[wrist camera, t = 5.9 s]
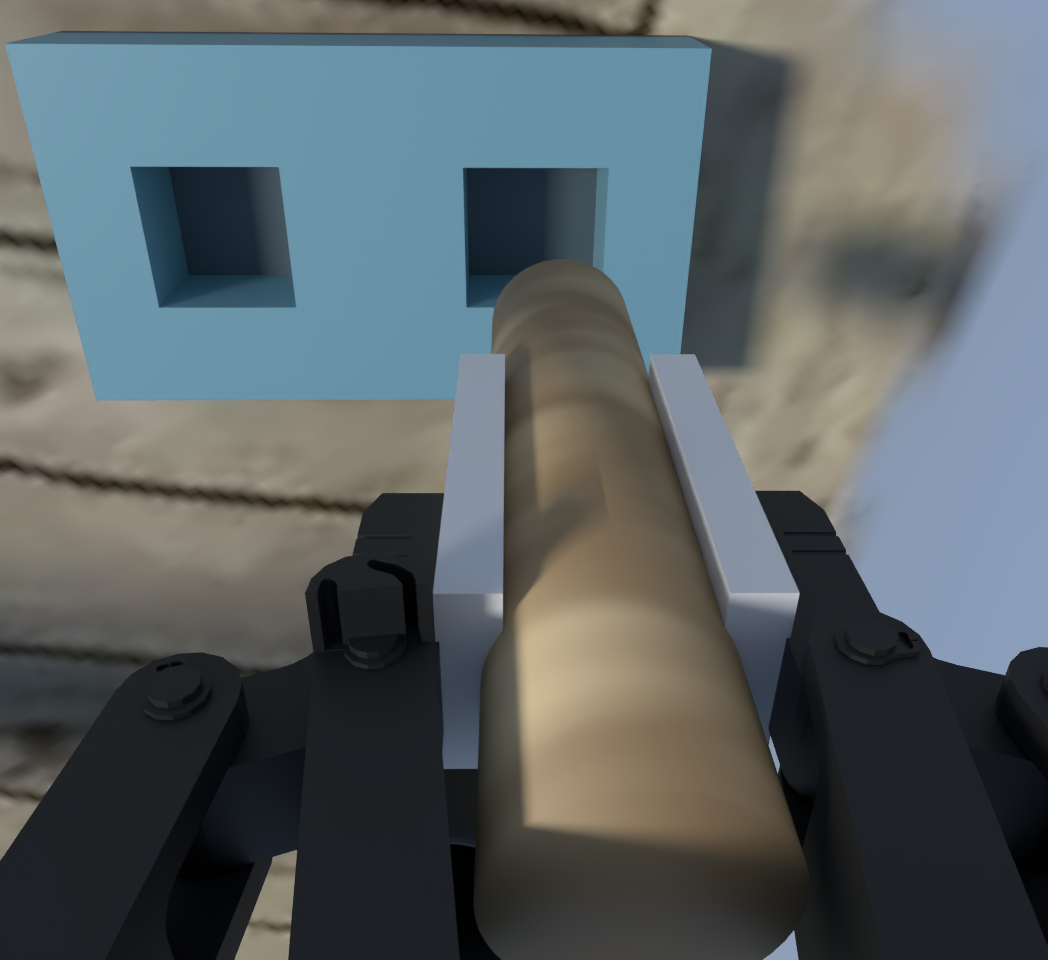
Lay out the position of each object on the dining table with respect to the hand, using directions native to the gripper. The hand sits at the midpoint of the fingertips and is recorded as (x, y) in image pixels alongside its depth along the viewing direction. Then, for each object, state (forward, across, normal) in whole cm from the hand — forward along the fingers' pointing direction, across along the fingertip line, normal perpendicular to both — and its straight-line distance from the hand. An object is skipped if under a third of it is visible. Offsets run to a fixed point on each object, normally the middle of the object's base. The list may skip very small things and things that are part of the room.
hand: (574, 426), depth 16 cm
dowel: (+5, 0, 0) cm, 5 cm away
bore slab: (+15, -5, 0) cm, 16 cm away
